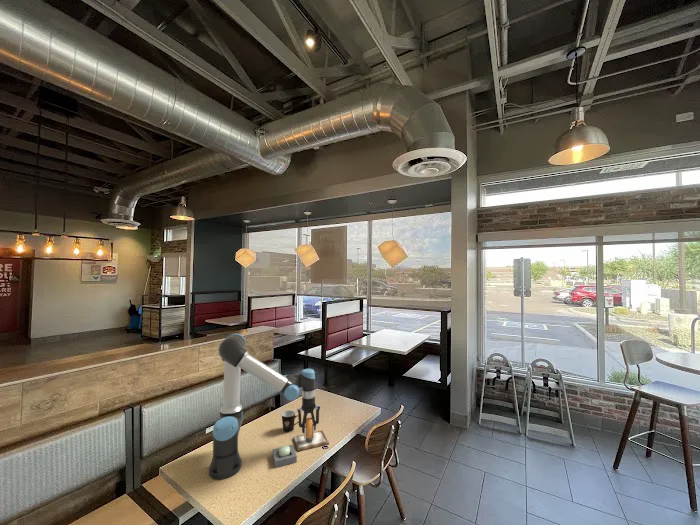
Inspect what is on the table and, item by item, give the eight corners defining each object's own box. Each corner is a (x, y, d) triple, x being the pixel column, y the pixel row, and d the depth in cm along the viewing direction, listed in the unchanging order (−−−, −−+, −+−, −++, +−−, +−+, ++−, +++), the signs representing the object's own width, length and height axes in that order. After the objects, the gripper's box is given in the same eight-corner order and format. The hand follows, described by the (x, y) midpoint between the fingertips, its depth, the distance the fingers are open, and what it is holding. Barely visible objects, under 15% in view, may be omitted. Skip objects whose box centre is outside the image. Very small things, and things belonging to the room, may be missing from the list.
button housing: (275, 467, 147) (275, 461, 147) (272, 455, 157) (272, 449, 157) (296, 462, 151) (296, 456, 151) (292, 450, 161) (292, 444, 161)
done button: (279, 459, 150) (279, 453, 150) (277, 452, 155) (277, 447, 156) (291, 456, 152) (291, 450, 152) (289, 450, 158) (289, 444, 158)
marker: (306, 442, 165) (306, 421, 166) (304, 438, 169) (304, 418, 169) (313, 441, 167) (313, 420, 167) (311, 437, 171) (311, 416, 171)
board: (298, 451, 159) (298, 448, 160) (293, 438, 172) (293, 435, 173) (329, 444, 166) (329, 441, 166) (322, 432, 179) (322, 429, 179)
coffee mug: (278, 431, 181) (278, 414, 181) (287, 424, 188) (287, 409, 189) (293, 435, 175) (293, 419, 176) (301, 429, 183) (301, 413, 183)
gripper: (295, 401, 162) (295, 444, 162) (324, 396, 169) (324, 437, 168) (292, 396, 169) (293, 437, 168) (320, 391, 176) (321, 430, 175)
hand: (308, 437), depth 168 cm, fingers closed on marker, 4 cm apart
